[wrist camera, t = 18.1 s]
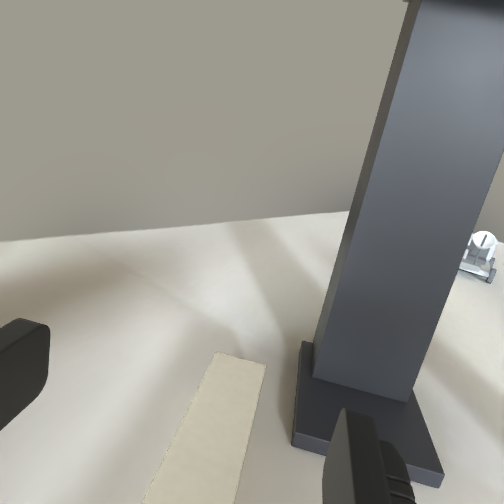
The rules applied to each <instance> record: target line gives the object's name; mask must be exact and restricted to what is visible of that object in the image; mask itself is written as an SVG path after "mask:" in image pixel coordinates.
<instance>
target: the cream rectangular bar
mask: <svg viewBox="0 0 504 504" xmlns="http://www.w3.org/2000/svg"><path fill="white" fill-rule="evenodd" d="M265 369H266V365H264V364H260V363H256V362H253V361H249V360H245V359H242V358H238V357H234V356H231V355H227V354H223V353H220V352H216V353H215V355H214V357H213V359H212V361H211V363H210V365H209V367H208V369H207V371H206V373H205V375H204V377H203V379H202V381H201V383H200V385H199V387H198V389H197V391H196V393H195V395H194V397H193V400H192V402H191V404H190V406H189V408H188V410H187V412H186V414H185V416H184V418H183V420H182V422H181V424H180V426H179V428H178V430H177V432H176V434H175V436H174V438H173V440H172V442H171V444H170V446H169V448H168V450H167V453H166V455H165V457H164V459H163V461H162V463H161V465H160V467H159V469H158V471H157V473H156V475H155V477H154V479H153V481H152V483H151V485H150V487H149V489H148V491H147V493H146V495H145V497H144V499H143V501H142V504H234V500H235V496H236V492H237V488H238V483H239V479H240V475H241V471H242V466H243V462H244V458H245V454H246V450H247V445H248V441H249V437H250V433H251V428H252V424H253V420H254V416H255V412H256V407H257V403H258V399H259V395H260V390H261V386H262V382H263V378H264V374H265Z"/></svg>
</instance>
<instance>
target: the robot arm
mask: <svg viewBox="0 0 504 504" xmlns="http://www.w3.org/2000/svg"><path fill="white" fill-rule="evenodd" d="M49 348H50V329H49V327H48V326H47V325H44V324H40V323H37V322H33V321H29V320H26V319H22V318H18V319H15V320H13V321H12V322H10V323H8V324H7V325H5V326H3V327H2V328H0V431H1V430H2V429H3V428H4V427H5V426H6V425H7V424H8V423H9V422H10V421H11V420H13V419H14V418H15V417H16V416H17V415H18V414H19V413H20V412H21V411H22V410H23V409H25V408H26V407H27V406H28V405H29V404H30V403H31V402H32V401H33V400H34V399H35V398H36V397H37V396H38V395H39V394H40V392H41V391H42V389H43V387H44V385H45V383H46V380H47V377H48V365H49ZM322 498H323V504H417V503H415V496H414V492H413V489H412V486H411V485H410V478H409V474H408V471H407V467H406V463H405V461H404V460H403V458H402V457H401V455H400V454H399V452H398V451H397V450H396V448H395V447H394V445H393V444H392V443H390V442H387V441H383V440H379V438H378V433H377V428H376V423H375V419H374V416H373V415H369V414H365V413H362V412H358V411H354V410H351V409H347V408H342V410H341V412H340V415H339V418H338V421H337V424H336V427H335V430H334V433H333V436H332V439H331V442H330V445H329V449H328V452H327V455H326V459H325V463H324V469H323V478H322Z"/></svg>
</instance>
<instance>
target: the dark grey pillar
mask: <svg viewBox="0 0 504 504" xmlns="http://www.w3.org/2000/svg"><path fill="white" fill-rule="evenodd" d="M403 2H408V3H409V4H408V7H407V11H406V14H405V18H404V22H403V25H402V28H401V32H400V35H399V40H398V43H397V46H396V50H395V53H394V57H393V60H392V64H391V68H390V71H389V75H388V78H387V81H386V85H385V89H384V92H383V96H382V99H381V103H380V106H379V110H378V113H377V117H376V120H375V124H374V127H373V131H372V135H371V138H370V142H369V145H368V149H367V152H366V156H365V159H364V163H363V166H362V170H361V173H360V177H359V181H358V184H357V188H356V192H355V195H354V198H353V202H352V205H351V209H350V212H349V216H348V219H347V223H346V226H345V230H344V233H343V237H342V241H341V244H340V248H339V251H338V255H337V258H336V262H335V265H334V269H333V272H332V276H331V279H330V283H329V287H328V290H327V294H326V297H325V301H324V304H323V308H322V311H321V315H320V318H319V322H318V325H317V329H316V333H315V336H314V340H313V343H311V342H307V341H302V344H301V348H300V354H299V365H298V376H297V387H296V398H295V409H294V420H293V432H292V443H291V445H292V446H294V447H298V448H301V449H304V450H308V451H311V452H315V453H318V454H322V455H325V456H326V455H327V452H328V449H329V445H330V442H331V439H332V436H333V433H334V430H335V427H336V424H337V421H338V418H339V415H340V412H341V410H342V408H347V409H351V410H354V411H358V412H362V413H365V414H369V415H373V416H374V419H375V423H376V428H377V433H378V438H379V440H383V441H387V442H390V443H392V444H393V445H394V447H395V448H396V450H397V451H398V452H399V454H400V455H401V457H402V458H403V460H404V461H405V463H406V467H407V471H408V474H409V478H410V480H411V481H415V482H418V483H421V484H425V485H428V486H432V487H435V488H439V487H440V485H441V482H442V480H443V478H444V476H445V474H444V472H443V469H442V466H441V464H440V461H439V458H438V456H437V453H436V450H435V448H434V445H433V442H432V440H431V437H430V434H429V432H428V429H427V426H426V424H425V421H424V418H423V416H422V413H421V410H420V408H419V405H418V402H417V400H416V397H415V394H414V392H413V386H414V384H415V381H416V378H417V376H418V373H419V370H420V368H421V365H422V363H423V360H424V357H425V355H426V352H427V350H428V347H429V344H430V342H431V339H432V337H433V334H434V331H435V329H436V326H437V324H438V321H439V318H440V316H441V313H442V310H443V308H444V305H445V303H446V300H447V297H448V295H449V292H450V290H451V287H452V284H453V282H454V279H455V277H456V274H457V271H458V269H459V266H460V264H461V261H462V258H463V256H464V253H465V251H466V248H467V245H468V243H469V240H470V237H471V235H472V232H473V229H474V227H475V224H476V222H477V219H478V217H479V214H480V211H481V209H482V206H483V204H484V201H485V198H486V195H487V193H488V191H489V188H490V185H491V183H492V180H493V177H494V175H495V172H496V170H497V167H498V164H499V162H500V159H501V157H502V154H503V151H504V0H403Z"/></svg>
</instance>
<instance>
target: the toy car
mask: <svg viewBox="0 0 504 504" xmlns="http://www.w3.org/2000/svg"><path fill="white" fill-rule="evenodd" d="M497 243H498V240H496V238H495V237H494V235H493V234H491V233H489V232H486V231H480V232H477V233H475V234H473V233H472V235H471V237H470V240H469V243H468V245H467V248H466V251H465V253H464V256H463V258H462V261H461V264H460V266H459V269H462V270H466V271H469V272H472V273H475V274H478V275H481V276H485V277H487V280H486V282H487V283H491V282H492V281H493V278H494V276H495V273H496V269H493V268H492V266H493V264H494V261H495V258H492V255H493V252H494V250H495V247H496V245H497Z"/></svg>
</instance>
